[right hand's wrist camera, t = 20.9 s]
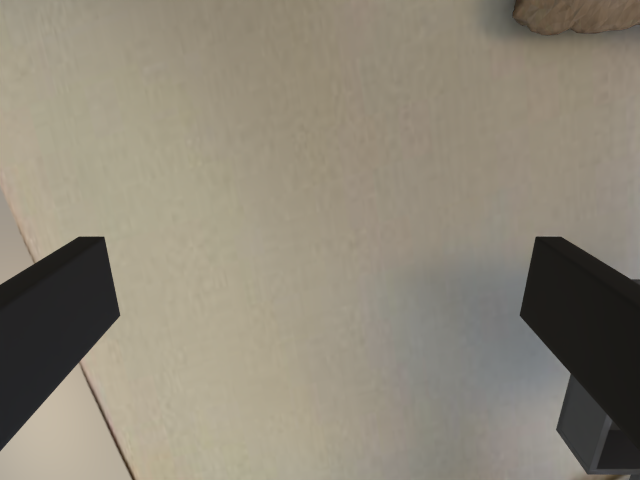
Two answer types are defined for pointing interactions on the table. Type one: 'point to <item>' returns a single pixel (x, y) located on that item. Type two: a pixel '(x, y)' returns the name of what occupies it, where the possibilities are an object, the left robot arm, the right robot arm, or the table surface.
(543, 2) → the stone
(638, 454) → the tote
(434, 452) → the table surface
